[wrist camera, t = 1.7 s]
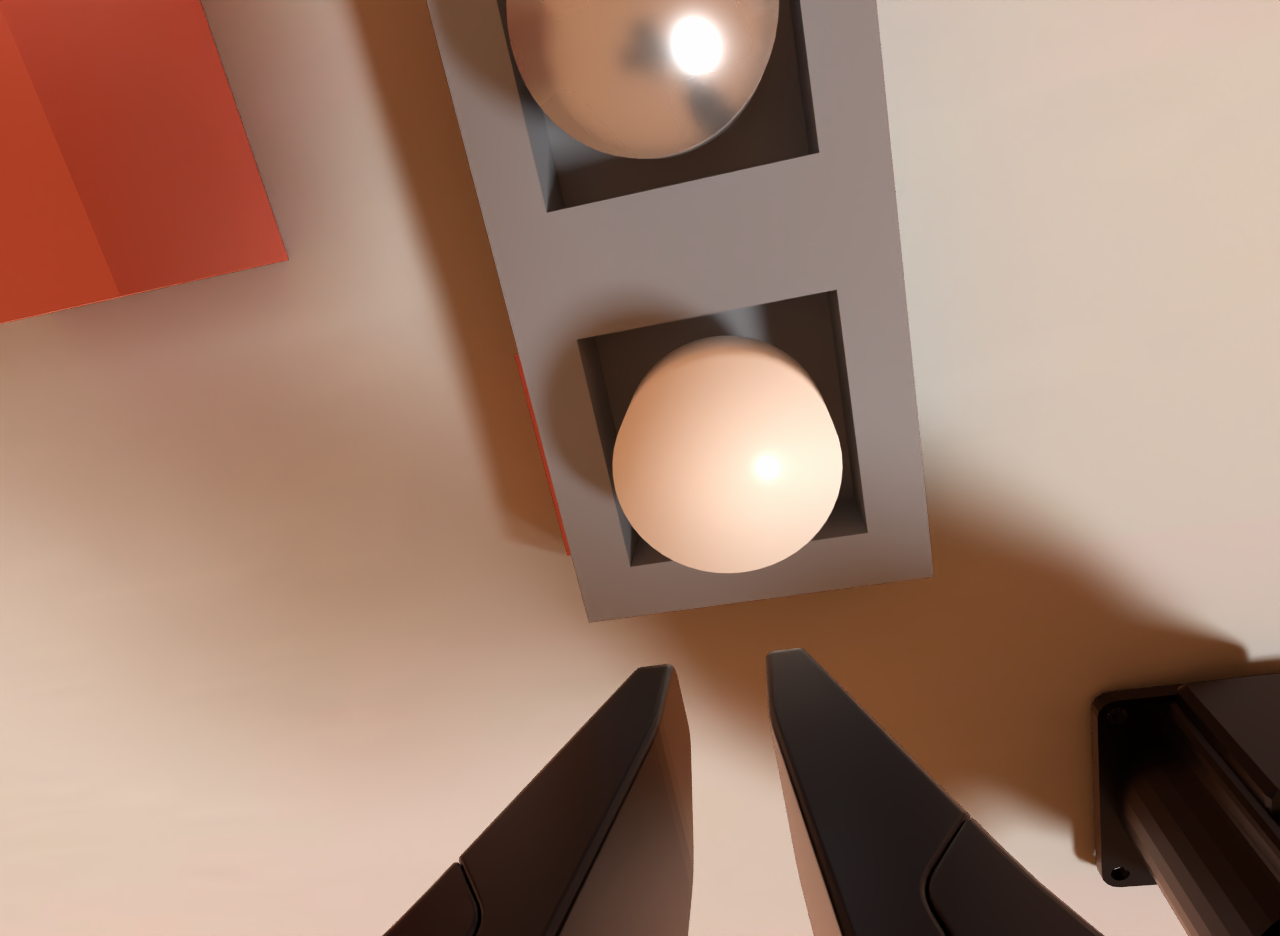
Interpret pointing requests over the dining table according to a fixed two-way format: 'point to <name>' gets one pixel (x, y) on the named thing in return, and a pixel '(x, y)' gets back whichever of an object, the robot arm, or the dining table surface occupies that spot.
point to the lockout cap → (120, 156)
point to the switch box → (705, 291)
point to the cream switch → (727, 456)
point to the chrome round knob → (642, 68)
